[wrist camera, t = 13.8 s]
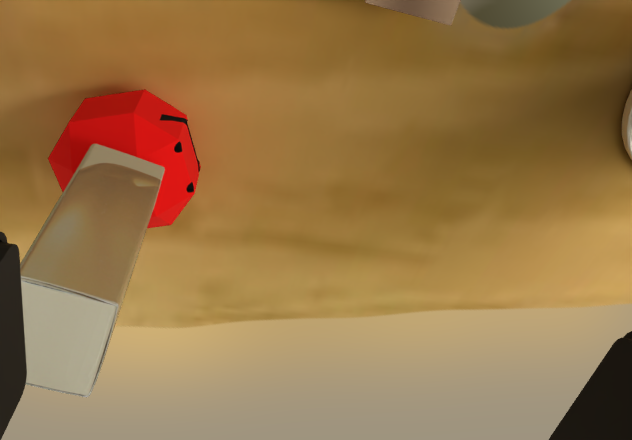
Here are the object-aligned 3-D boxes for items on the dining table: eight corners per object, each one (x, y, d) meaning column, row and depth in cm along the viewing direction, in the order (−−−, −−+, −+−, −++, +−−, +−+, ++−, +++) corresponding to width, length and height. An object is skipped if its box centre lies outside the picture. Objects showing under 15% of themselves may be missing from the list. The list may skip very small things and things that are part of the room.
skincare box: (141, 245, 38) (89, 405, 28) (69, 225, 37) (-11, 383, 27) (169, 161, 35) (122, 307, 24) (91, 136, 33) (9, 277, 23)
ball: (211, 177, 44) (198, 239, 38) (103, 192, 44) (73, 256, 38) (182, 72, 39) (162, 122, 33) (62, 90, 40) (21, 143, 34)
